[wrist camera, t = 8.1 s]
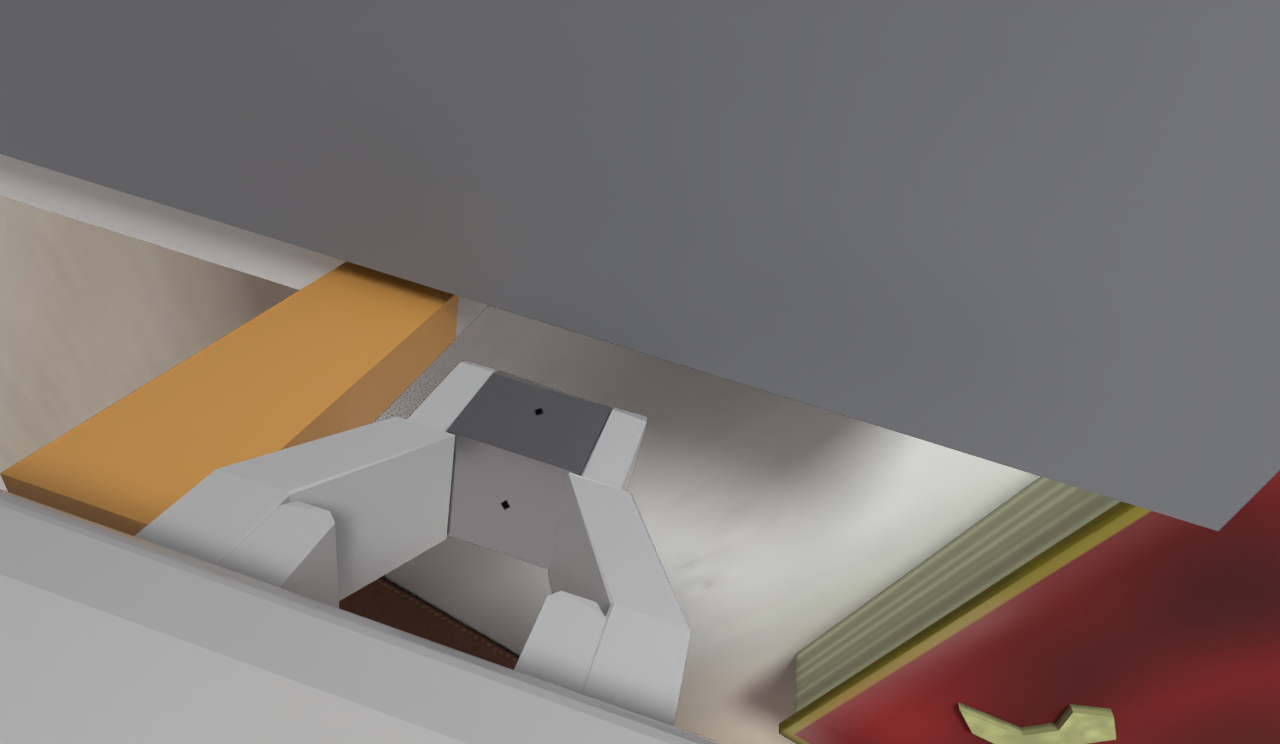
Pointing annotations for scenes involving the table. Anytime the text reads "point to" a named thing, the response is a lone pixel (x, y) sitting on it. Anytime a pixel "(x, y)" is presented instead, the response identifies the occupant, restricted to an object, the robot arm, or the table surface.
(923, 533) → the table surface
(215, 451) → the side door
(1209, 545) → the hardcover book
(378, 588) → the letter holder
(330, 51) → the camera housing
